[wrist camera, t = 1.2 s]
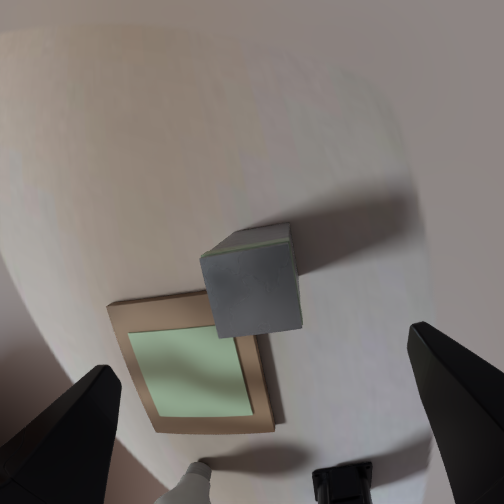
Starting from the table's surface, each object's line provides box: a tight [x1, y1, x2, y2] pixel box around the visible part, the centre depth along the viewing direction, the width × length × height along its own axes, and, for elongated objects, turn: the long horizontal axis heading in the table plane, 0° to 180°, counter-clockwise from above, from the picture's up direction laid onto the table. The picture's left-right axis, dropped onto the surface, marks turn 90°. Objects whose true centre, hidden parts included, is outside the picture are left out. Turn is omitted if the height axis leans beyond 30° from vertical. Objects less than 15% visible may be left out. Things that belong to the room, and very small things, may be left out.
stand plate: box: [106, 290, 275, 434], centre depth 25 cm, size 14×12×1 cm
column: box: [200, 222, 303, 339], centre depth 18 cm, size 4×4×9 cm
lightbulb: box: [154, 462, 212, 504], centre depth 23 cm, size 6×6×11 cm
